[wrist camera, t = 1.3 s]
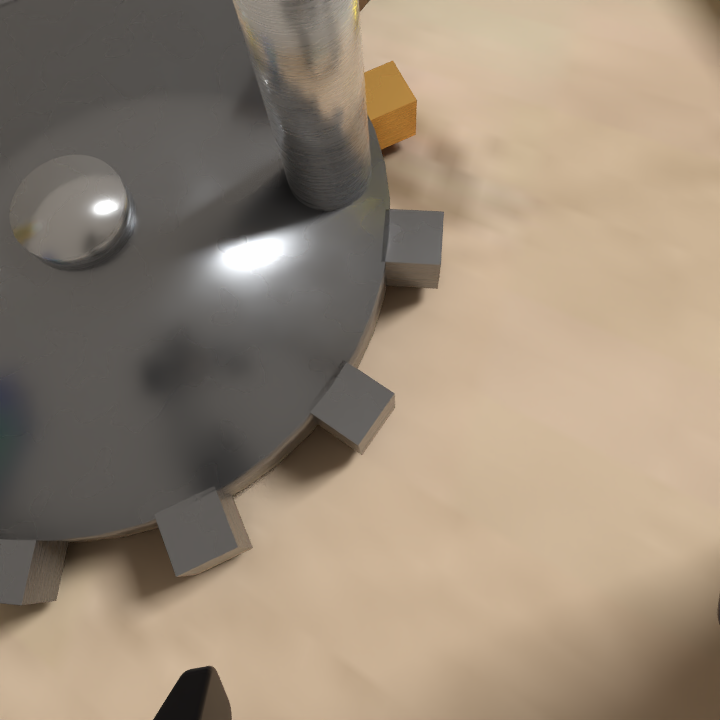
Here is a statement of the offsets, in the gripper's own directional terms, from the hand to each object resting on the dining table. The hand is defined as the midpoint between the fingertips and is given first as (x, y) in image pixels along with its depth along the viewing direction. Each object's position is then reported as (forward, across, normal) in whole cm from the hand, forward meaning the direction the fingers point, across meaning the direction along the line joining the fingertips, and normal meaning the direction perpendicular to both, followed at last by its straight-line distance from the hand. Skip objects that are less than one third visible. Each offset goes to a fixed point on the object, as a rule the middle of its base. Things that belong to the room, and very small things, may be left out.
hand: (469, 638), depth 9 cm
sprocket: (+19, +10, -2) cm, 21 cm away
